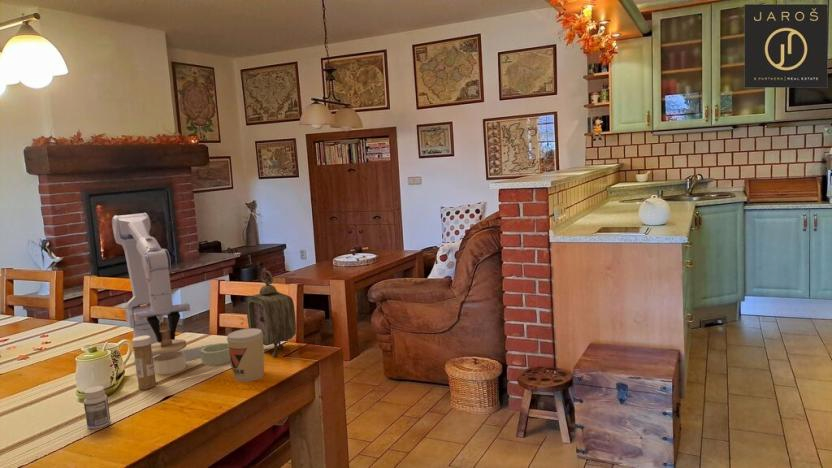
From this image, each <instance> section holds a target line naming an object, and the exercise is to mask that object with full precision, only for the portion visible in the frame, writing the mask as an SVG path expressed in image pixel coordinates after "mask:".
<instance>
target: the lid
mask: <svg viewBox="0 0 832 468" xmlns="http://www.w3.org/2000/svg"><path fill="white" fill-rule="evenodd" d="M160 335H161V342H160V343H159V342H157V343H154V344H151V349H152V354H167V353H172V352H176V351H182V350H183V349H185V348H186V347H187V341H186V340H185V339H176V338H175V339H174V340H172V338H171V330H170V329H164V330H160Z"/></svg>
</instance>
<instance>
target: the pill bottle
mask: <svg viewBox="0 0 832 468" xmlns="http://www.w3.org/2000/svg"><path fill="white" fill-rule="evenodd" d="M105 392H106V391H105V387H104V386H102V385H98V386H92V387H89V388H86V389H85V390H84V391H83V394H84V399H83V407H84V413H85V420H86V426H87V428H88V429H91V430H94V429H100V428H103V427H105V426H108V425H109V424H110V423H111V415H110V408H109V400H108V395H107V394H105Z"/></svg>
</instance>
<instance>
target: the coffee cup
mask: <svg viewBox="0 0 832 468" xmlns="http://www.w3.org/2000/svg"><path fill="white" fill-rule="evenodd" d="M226 341H227V343H228V346H229V352H230V357H231V361H230V362H231V367H232V375H233V377H234V380H235V381H236V382H245V383H246V382H252V381H255V380H259V379H261V378H262V377H263V376H264V375H265V359H264V345H263V332H262V331H261V330H260V329H254V328H253V329H249V328H242V329H237V330H234V331H232V332H230V333H228V335H227V337H226Z"/></svg>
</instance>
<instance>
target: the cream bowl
mask: <svg viewBox="0 0 832 468" xmlns="http://www.w3.org/2000/svg"><path fill="white" fill-rule="evenodd" d="M182 351H183V350H179V351H176V352H172V353H167V354H158V355H155V356H153V362H154V370H155V375H169V374H173V373H176V372H177V373H178V372H179V371H182V370H184V369H185V368H186V367H187V361H186V356H185V353H184V352H182Z"/></svg>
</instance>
